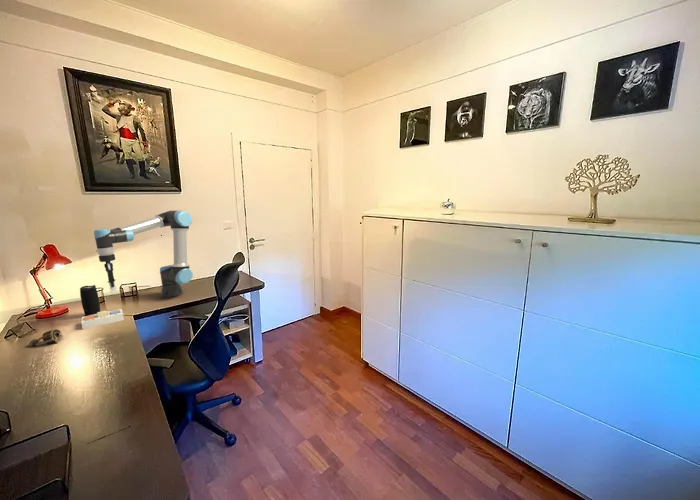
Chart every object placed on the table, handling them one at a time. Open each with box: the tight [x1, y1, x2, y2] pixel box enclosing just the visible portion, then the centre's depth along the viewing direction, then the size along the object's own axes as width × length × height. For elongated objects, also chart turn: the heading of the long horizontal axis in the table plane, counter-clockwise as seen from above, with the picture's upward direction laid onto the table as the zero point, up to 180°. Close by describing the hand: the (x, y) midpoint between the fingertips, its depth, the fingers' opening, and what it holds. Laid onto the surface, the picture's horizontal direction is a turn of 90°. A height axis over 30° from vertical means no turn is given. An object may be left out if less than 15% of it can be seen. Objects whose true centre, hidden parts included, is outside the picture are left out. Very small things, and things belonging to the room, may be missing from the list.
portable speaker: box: [79, 284, 101, 316], centre depth 190 cm, size 8×9×19 cm
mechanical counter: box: [28, 328, 64, 348], centre depth 153 cm, size 7×13×10 cm
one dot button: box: [109, 309, 120, 315], centre depth 183 cm, size 4×4×3 cm
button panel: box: [81, 308, 125, 330], centre depth 180 cm, size 19×12×4 cm, turn 131°
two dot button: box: [97, 310, 108, 317], centre depth 179 cm, size 4×4×3 cm
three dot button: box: [83, 315, 95, 320], centre depth 176 cm, size 4×4×3 cm
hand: (113, 291), depth 183 cm, fingers closed
